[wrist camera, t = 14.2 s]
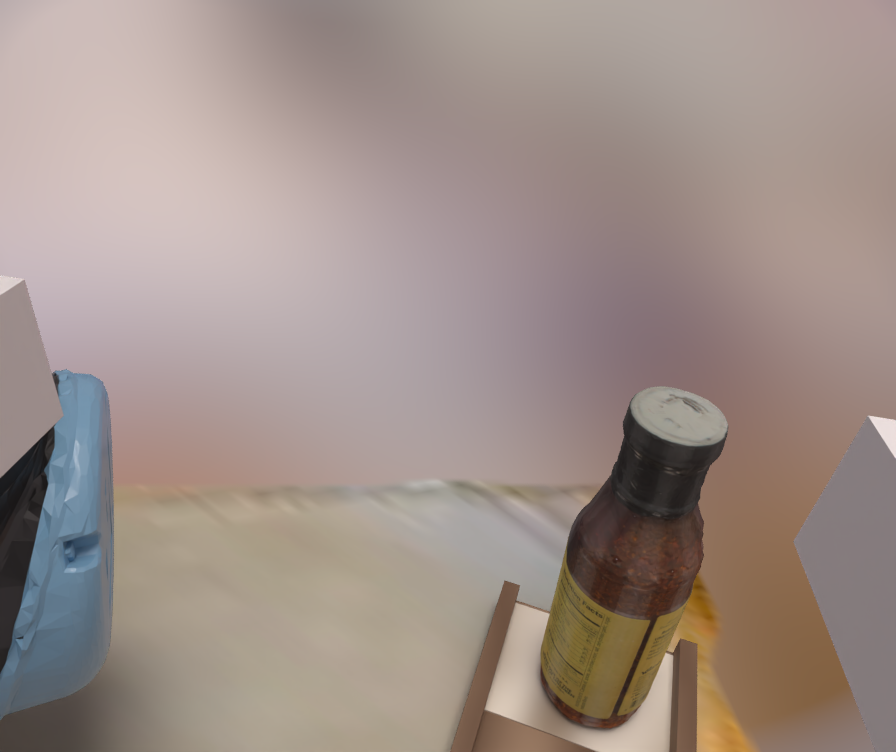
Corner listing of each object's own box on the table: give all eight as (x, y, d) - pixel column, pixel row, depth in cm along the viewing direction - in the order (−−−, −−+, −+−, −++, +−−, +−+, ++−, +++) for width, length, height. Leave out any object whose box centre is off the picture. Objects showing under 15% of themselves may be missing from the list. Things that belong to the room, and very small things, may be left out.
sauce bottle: (621, 632, 41) (729, 370, 30) (657, 733, 36) (804, 462, 25) (519, 636, 40) (593, 366, 29) (542, 739, 35) (641, 461, 24)
